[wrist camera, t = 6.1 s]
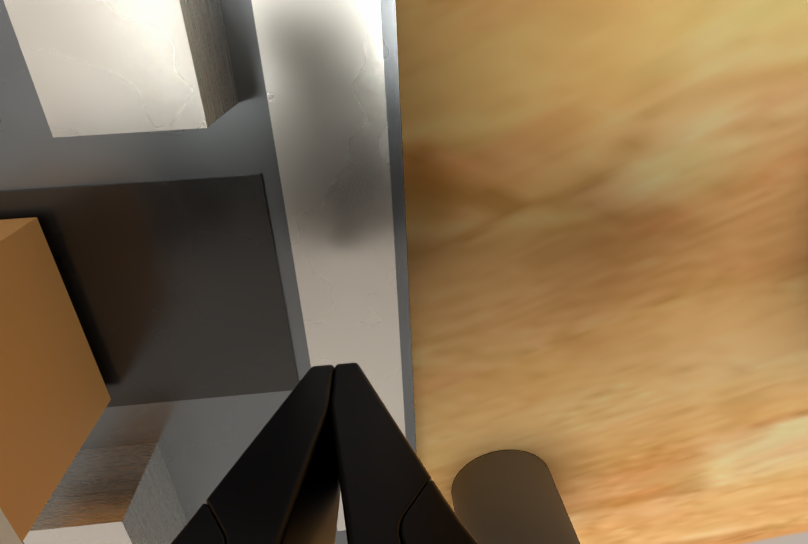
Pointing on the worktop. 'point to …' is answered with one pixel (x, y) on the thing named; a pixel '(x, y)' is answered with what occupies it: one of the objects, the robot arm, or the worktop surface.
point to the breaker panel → (207, 227)
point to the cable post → (511, 501)
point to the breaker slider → (39, 378)
